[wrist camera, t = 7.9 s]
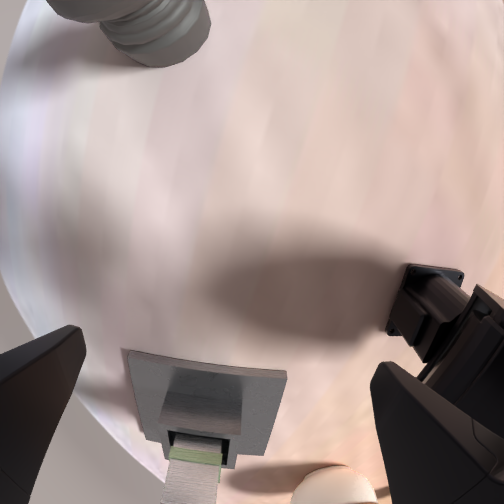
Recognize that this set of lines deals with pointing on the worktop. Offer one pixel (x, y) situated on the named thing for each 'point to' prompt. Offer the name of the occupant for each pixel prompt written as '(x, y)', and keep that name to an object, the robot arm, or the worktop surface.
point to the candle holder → (145, 26)
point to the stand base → (206, 403)
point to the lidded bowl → (334, 487)
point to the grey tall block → (193, 471)
